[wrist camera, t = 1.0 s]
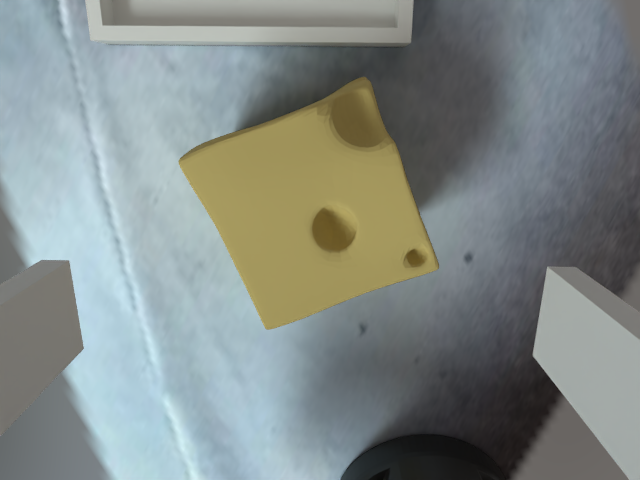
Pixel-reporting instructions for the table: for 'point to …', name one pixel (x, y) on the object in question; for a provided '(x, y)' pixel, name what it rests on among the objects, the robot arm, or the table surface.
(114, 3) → the serving tray
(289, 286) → the cheese
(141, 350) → the table surface
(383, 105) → the table surface
